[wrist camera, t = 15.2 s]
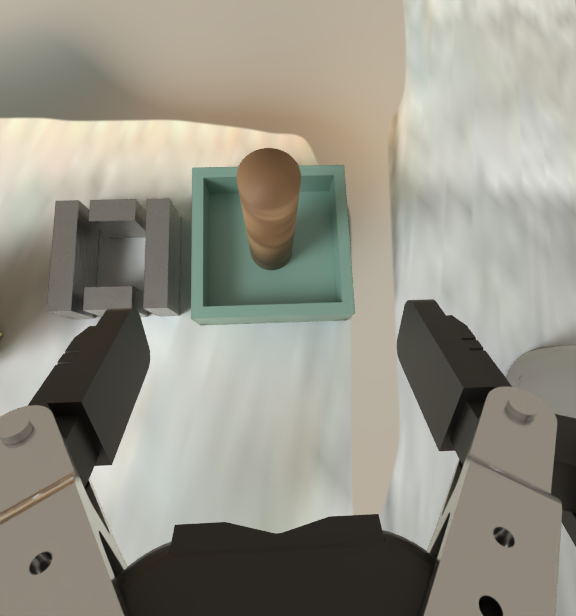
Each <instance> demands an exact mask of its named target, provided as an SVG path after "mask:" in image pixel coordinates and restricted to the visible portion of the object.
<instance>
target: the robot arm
mask: <svg viewBox="0 0 576 616" xmlns="http://www.w3.org/2000/svg"><path fill="white" fill-rule="evenodd" d="M397 353H398V358H399V361H400V363H401V365H402V368H403V370H404V372H405V374H406V377H407V379H408V381H409V384H410V386H411V388H412V390H413V393H414V395H415V397H416V400H417V402H418V404H419V406H420V409H421V411H422V413H423V415H424V418H425V420H426V422H427V425H428V427H429V429H430V431H431V434H432V436H433V438H434V441H435V443H436V445H437V447H438V450H439V451H453V450H455V451H456V453H457V455H458V457H459V461H458V463H457V465H456V468H455V471H454V474H453V477H452V480H451V483H450V486H449V489H448V492H447V495H446V498H445V501H444V504H443V507H442V510H441V513H440V516H439V519H438V522H437V525H436V528H435V531H434V533H433V536H432V538H431V541H430V543H429V546H428V549H427V551H426V550H424V549H423V548H421V547H420V546H418V545H417V544H415V543H413V542H411V541H410V540H408V539H406V538H404V537H402V536H399V535H396V534H394V533H391V532H388V531H384V530H382V528H381V524H380V520H379V515H378V514H373V515H353V516H334V517H327V518H324V519H321V520H318V521H315V522H312V523H310V524H307V525H304V526H301V527H298V528H295V529H292V530H289V531H286V532H283V533H278V534H275V533H270V532H266V531H261V530H257V529H253V528H248V527H244V526H240V525H235V524H231V523H227V522H220V523H201V524H182V525H175V527H174V532H173V537H172V542H169V543H166V544H164V545H162V546H160V547H158V548H155V549H153V550H152V551H150V552H148V553H147V554H145V555H143V556H142V557H140V558H139V559H137V560H136V561H135V562H133V563H132V564H131V565H130V566H128V567H127V564H126V562H125V560H124V558H123V556H122V554H121V552H120V550H119V548H118V546H117V544H116V541H115V539H114V537H113V534H112V532H111V529H110V527H109V524H108V522H107V520H106V517H105V515H104V512H103V510H102V507H101V505H100V502H99V500H98V498H97V495H96V493H95V490H94V488H93V485H92V483H91V481H90V479H89V477H90V475H91V473H92V470H93V468H94V466H100V465H112V463H113V460H114V458H115V455H116V452H117V450H118V447H119V444H120V442H121V439H122V437H123V434H124V431H125V429H126V426H127V423H128V421H129V418H130V416H131V413H132V410H133V408H134V405H135V402H136V400H137V397H138V395H139V392H140V389H141V387H142V384H143V381H144V379H145V376H146V374H147V371H148V368H149V364H150V350H149V346H148V342H147V339H146V335H145V332H144V328H143V325H142V321H141V318H140V314H139V312H138V310H137V309H136V308H115V309H107V310H106V311H105V313H104V314H103V316H102V317H101V319H100V321H99V322H98V324H97V325H96V326H89V327H88V328H87V329H85V330H84V331H83V332H81V333H80V334H79V335H78V336H76V337H75V338H74V339H73V341H72V342H71V343H70V345H69V346H68V348H67V349H66V351H65V354H63V355H62V357H61V358H60V359H59V361H58V365H55V367H54V368H53V370H52V371H51V373H50V374H49V375H48V377H47V378H46V380H45V381H44V383H43V384H42V386H41V387H40V389H39V390H38V391H37V393H36V394H35V396H34V397H33V399H32V400H31V402H30V403H29V405H28V406H25V407H21V408H18V409H15V410H13V411H10V412H8V413H6V414H4V415H3V416H1V417H0V616H555V613H556V597H557V582H558V567H559V551H560V536H561V522H562V523H563V525H564V527H565V529H566V530H567V532H568V534H569V536H570V537H571V539H572V541H573V543H574V544H575V546H576V345H567V346H558V347H548V348H539V349H535V350H532V351H529V352H527V353H525V354H523V355H522V356H521V357H520V358H518V359H517V360H516V361H515V362H514V364H513V365H512V367H511V368H510V369H509V372H508V374H507V377H506V378H505V376H504V375H503V374H502V372H501V371H500V370H499V368H498V367H497V366H496V364H495V363H494V362H493V360H492V359H491V358H490V356H489V355H488V354H487V352H486V351H484V350H483V347H482V346H481V344H480V343H479V342H478V340H476V338H475V336H474V335H473V334H472V332H471V331H470V330H469V328H468V327H467V326H466V325H465V324H463V323H462V322H461V321H459V320H458V319H456V318H455V317H454V316H452V315H448V316H446V315H445V314H444V312H443V311H442V309H441V308H440V307H439V305H438V304H437V302H436V301H435V300H408V301H407V302H406V304H405V306H404V311H403V316H402V320H401V325H400V330H399V334H398V339H397Z"/></svg>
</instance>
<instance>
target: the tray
mask: <svg viewBox="0 0 576 616" xmlns="http://www.w3.org/2000/svg"><path fill="white" fill-rule="evenodd" d="M299 168H300V172H301V186H300V194H299V201H298V209H297V217H296V225H295V232H294V240H293V248H292V255H291V258H290V260H289V262H288V263H287V264H286V265H285V266H284V267H282V268H280V269H277V270H266V269H263V268H261V267H259V266H258V265H257V264H256V263H255V262H254V261H253V259H252V256H251V252H250V247H249V241H248V236H247V231H246V226H245V221H244V216H243V211H242V205H241V200H240V195H239V190H238V185H237V170H238V167H205V168H192V257H191V319H192V320H194V321H195V322H197V323H198V324H200V325H220V324H249V323H279V322H308V321H337V320H347V319H348V318H350V317H351V316H352V315H353V314H354V313H355V307H354V294H353V279H352V266H351V252H350V239H349V225H348V212H347V199H346V186H345V172H344V165H319V166H299Z"/></svg>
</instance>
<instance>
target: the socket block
mask: <svg viewBox="0 0 576 616" xmlns="http://www.w3.org/2000/svg"><path fill="white" fill-rule="evenodd" d="M99 230H100V231H101V232H102V233H104V234H105V235H106V236H107V237H109V238H136V237H146V245H145V275H144V293H143V292H141V291H139V290H138V289H136V288H135V287H133V286H116V287H96V281H97V264H98V247H99ZM180 252H181V217H180V215H179V213H178V212H177V210H176V208H175V207H174V205H173V203H172V202H171V200H170V199H147V213H146V212H145V210H144V209H143V208H142V206H141V205H140V204H139V203H138V201H137V200H136V199H124V200H90V210H89V209H88V208H87V207H86V206H84V205H83V204H82V203H81V202H80V201H79V200H76V201H56V204H55V216H54V228H53V240H52V252H51V264H50V276H49V288H48V300H47V312H49V313H53V314H57V315H60V316H64V317H67V318H71V319H89V318H94V315H98V316H101V317H102V316H103V314H104V313H105V311H106V310H107V309H115V308H136V309H137V310H138V312H139V314H140V317H148V311H149V312H151V313H153V314H155V315H157V316H180Z"/></svg>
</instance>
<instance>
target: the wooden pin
mask: <svg viewBox="0 0 576 616" xmlns="http://www.w3.org/2000/svg"><path fill="white" fill-rule="evenodd" d="M237 185H238V190H239V195H240V200H241V205H242V211H243V216H244V221H245V226H246V231H247V236H248V241H249V247H250V252H251V256H252V259H253V261H254V262H255V263H256V264H257V265H258V266H259V267H261V268H263V269H266V270H277V269H280V268H282V267H284V266H285V265H286V264H287V263H288V262H289V260H290V258H291V255H292V248H293V240H294V232H295V225H296V217H297V209H298V201H299V194H300V186H301V172H300V168H299V166H298V164H297V162H296V161H295V160H294V159H293V158H292V157H291V156H290V155H289V154H287V153H285V152H284V151H281V150H278V149H273V148H264V149H259V150H256V151H254V152H252V153H250V154H249V155H247V156H246V157H245V158H244V159H243V160H242V162H241V163H240V165H239V167H238V170H237Z"/></svg>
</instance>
